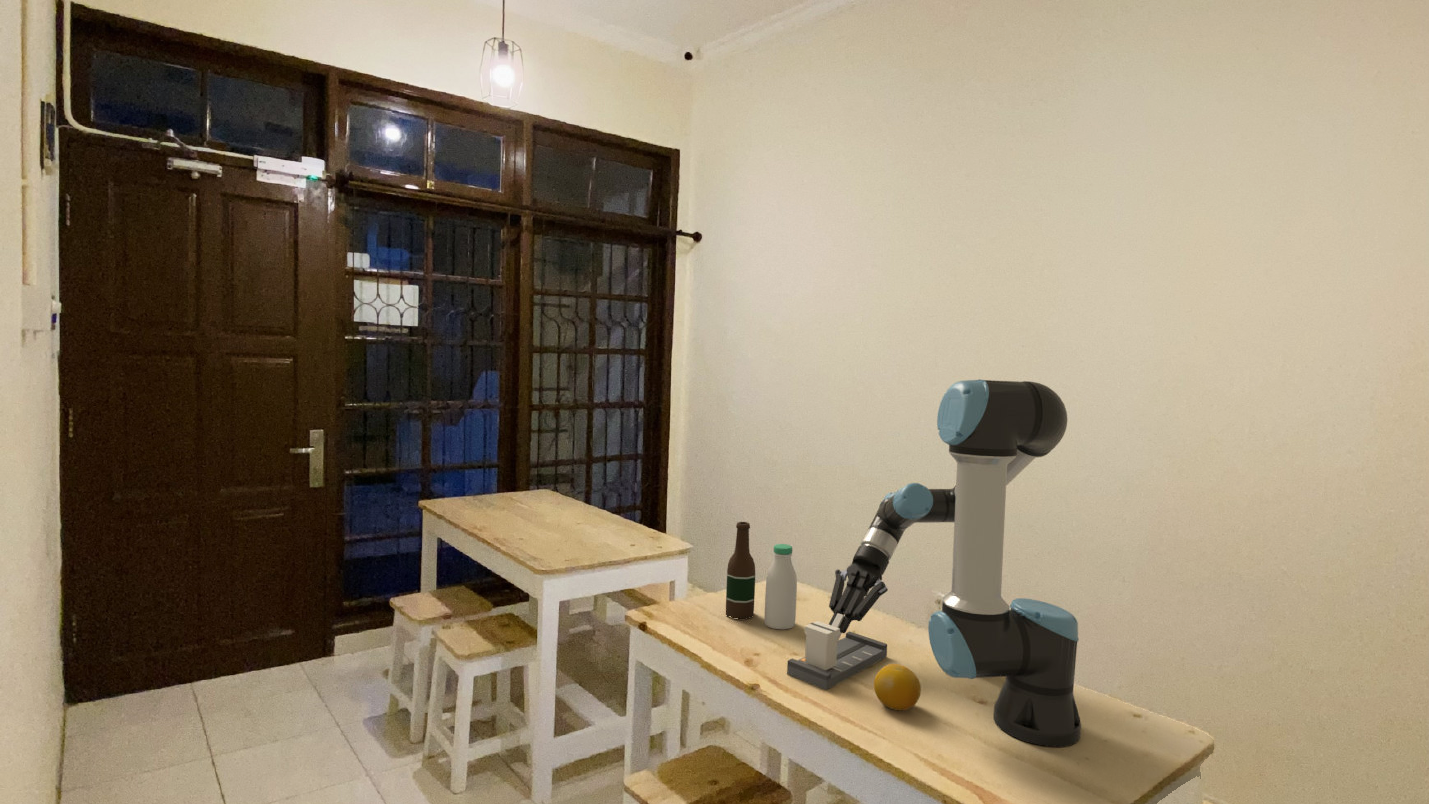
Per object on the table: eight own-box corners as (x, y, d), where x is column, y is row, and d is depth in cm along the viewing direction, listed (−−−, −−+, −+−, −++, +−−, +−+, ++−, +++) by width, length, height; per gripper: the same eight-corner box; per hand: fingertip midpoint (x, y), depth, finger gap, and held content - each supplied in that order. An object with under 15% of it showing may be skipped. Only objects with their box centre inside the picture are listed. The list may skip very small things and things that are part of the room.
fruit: (921, 702, 151) (924, 663, 150) (916, 720, 144) (919, 679, 143) (876, 693, 154) (879, 655, 154) (869, 710, 147) (871, 670, 146)
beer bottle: (759, 612, 197) (763, 521, 195) (747, 622, 190) (751, 528, 188) (731, 607, 201) (735, 517, 199) (719, 616, 193) (723, 523, 191)
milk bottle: (799, 629, 187) (803, 549, 185) (769, 631, 185) (773, 550, 183) (789, 618, 194) (792, 541, 193) (760, 619, 192) (763, 542, 191)
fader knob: (815, 656, 165) (817, 620, 165) (838, 665, 161) (840, 628, 161) (802, 662, 162) (804, 625, 161) (825, 671, 158) (827, 633, 157)
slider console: (848, 643, 179) (849, 631, 179) (886, 656, 172) (887, 644, 172) (787, 674, 162) (787, 660, 161) (826, 690, 155) (826, 675, 155)
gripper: (905, 568, 172) (861, 661, 161) (855, 556, 181) (811, 642, 170) (894, 550, 168) (849, 643, 157) (844, 537, 177) (798, 625, 166)
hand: (829, 643), depth 164 cm, fingers closed
